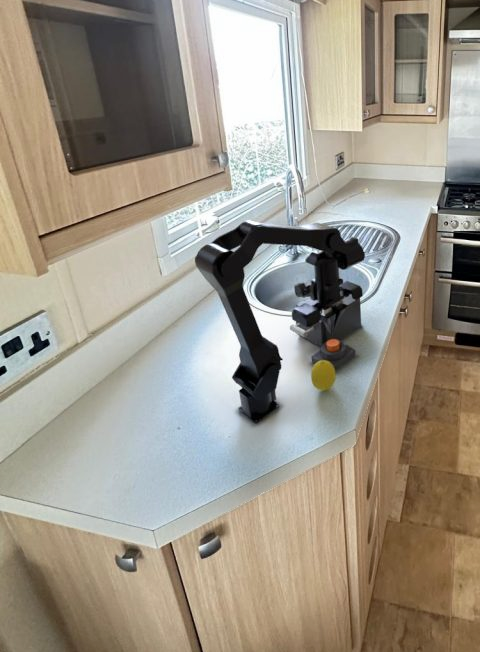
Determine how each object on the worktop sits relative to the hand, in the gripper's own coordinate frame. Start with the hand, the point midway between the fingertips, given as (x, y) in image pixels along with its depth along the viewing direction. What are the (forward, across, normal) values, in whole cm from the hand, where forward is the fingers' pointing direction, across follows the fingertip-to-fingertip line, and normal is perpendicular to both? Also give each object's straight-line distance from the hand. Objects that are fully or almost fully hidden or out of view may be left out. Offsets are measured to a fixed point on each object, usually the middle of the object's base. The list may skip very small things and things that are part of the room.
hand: (331, 332), depth 102 cm
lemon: (+9, +9, +6) cm, 14 cm away
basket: (+8, -5, -10) cm, 14 cm away
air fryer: (+8, -9, -10) cm, 16 cm away
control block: (+8, 0, 0) cm, 9 cm away
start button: (+5, 0, 0) cm, 5 cm away
